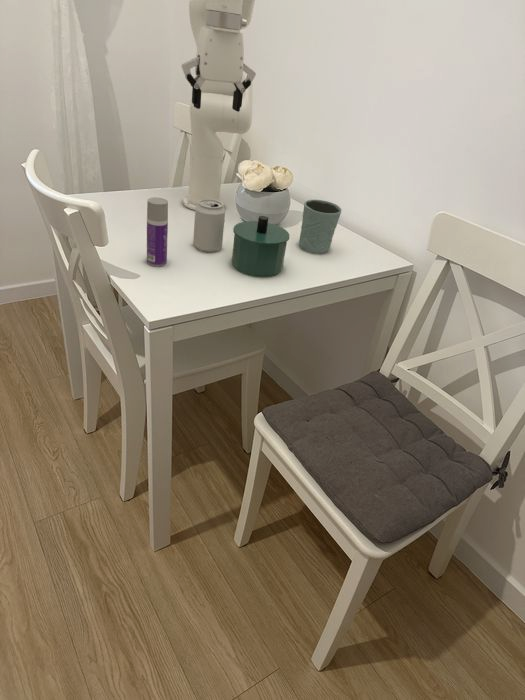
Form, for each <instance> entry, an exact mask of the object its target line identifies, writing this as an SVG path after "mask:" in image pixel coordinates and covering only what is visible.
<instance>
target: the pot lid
mask: <svg viewBox="0 0 525 700" xmlns="http://www.w3.org/2000/svg"><path fill="white" fill-rule="evenodd" d="M269 219H270V218H269V217H268V216H266V215H259V216H258V218H257V220H247V221H241V222H238V223H236V224H234V226H233V228H232V229H233V234H235V235H236V236H237V237H239V238H241V239H243V240H245V241H248V242H251V243H255V244H260V245H279V244H283V243H285V242H287V243H288V241H289V239H290V233H289V232H288V231H287V229H285V228H283V226H282V227H281V226H280V225H277V224H275V223H271V222H269Z"/></svg>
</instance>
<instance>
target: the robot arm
mask: <svg viewBox="0 0 525 700" xmlns="http://www.w3.org/2000/svg"><path fill="white" fill-rule="evenodd" d="M255 1H256V0H189V1H188V2H189V3H188V10H189V11H188V13H189V14H188V15H189V22H190V28H191V32H192V36H193V38H194V42H195V45H196V55H195V57H194V58H192V59H190V60H188V61H185V62H184V63H182V64H181V68H182V69H181V70H182V71H183V74H184V77H185V80H187V82H188V83H189V85H190V86H191V87H192V89H191V91H192V92H191V99H190V103H189V116H190V130H191V131H190V132H191V134H190V135H191V136H190V138H191V139H190V162H189V178H188V179H189V180H188V195H187V196H185V197H184V198H183V201H182V204H183V205H184V207H186V208H188V209H190V210H193V211H195V207H196V206H197V205H198V204H199V203H198V202H199V201H200V200H202V199H214V200H218V201H220V202H222V203H223V207H224V206H225V203H224V201H223V200H222V199H220V198H221V185H222V174H223V163H224V162H223V161H224V153H225V151H224V145H223V142H222V141H221V138H219V136H218V135H217V133H228V134H229V133H230V134H240V135H243V134H246V133H248V132H249V130H250V128H251V126H252V120H253V81H254V79H255V77H256V72H255V71H254V70H253V69H252V68H250V66H249V65H248V64H247V63H245V62H244V50H245V49H244V48H245V47H244V34H243V32H241V30H244V29H247V28H248V27H249V25H250V23H251V21H252V17H253V11H254V7H255ZM193 68H194V73H195V77H194V76H193V75H192V73H191V69H193ZM224 208H225V207H224Z"/></svg>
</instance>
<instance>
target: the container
mask: <svg viewBox="0 0 525 700" xmlns="http://www.w3.org/2000/svg"><path fill="white" fill-rule="evenodd" d="M146 202H147V207H146V264H147V265H149V266H151V267H156V268H158V267H159V268H160V267H164V266H167V263H168V262H167V261H168V232H169V229H168V228H169V200H168V199H166V198H163V197H158V196H155V197H148V199H147V201H146Z"/></svg>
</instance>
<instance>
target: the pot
mask: <svg viewBox="0 0 525 700" xmlns="http://www.w3.org/2000/svg"><path fill="white" fill-rule="evenodd" d="M233 234H234V233H233ZM287 244H288V241H287V242H285V243H283V244H279V245H260V244H255V243H251V242H248V241H245V240H243V239H241V238H239V237H237V236H236V235H235V234H234V235H233V246H232V255H231V266H232V267H233V269H234V270H236V271H237V272H239V273H241V274H243V275H245V276H248V277H249V276H250V277H255V278H272V277H275V276H278V275H279V274H280V273H282V271H283V266H284V262H285V255H286V250H287Z"/></svg>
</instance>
